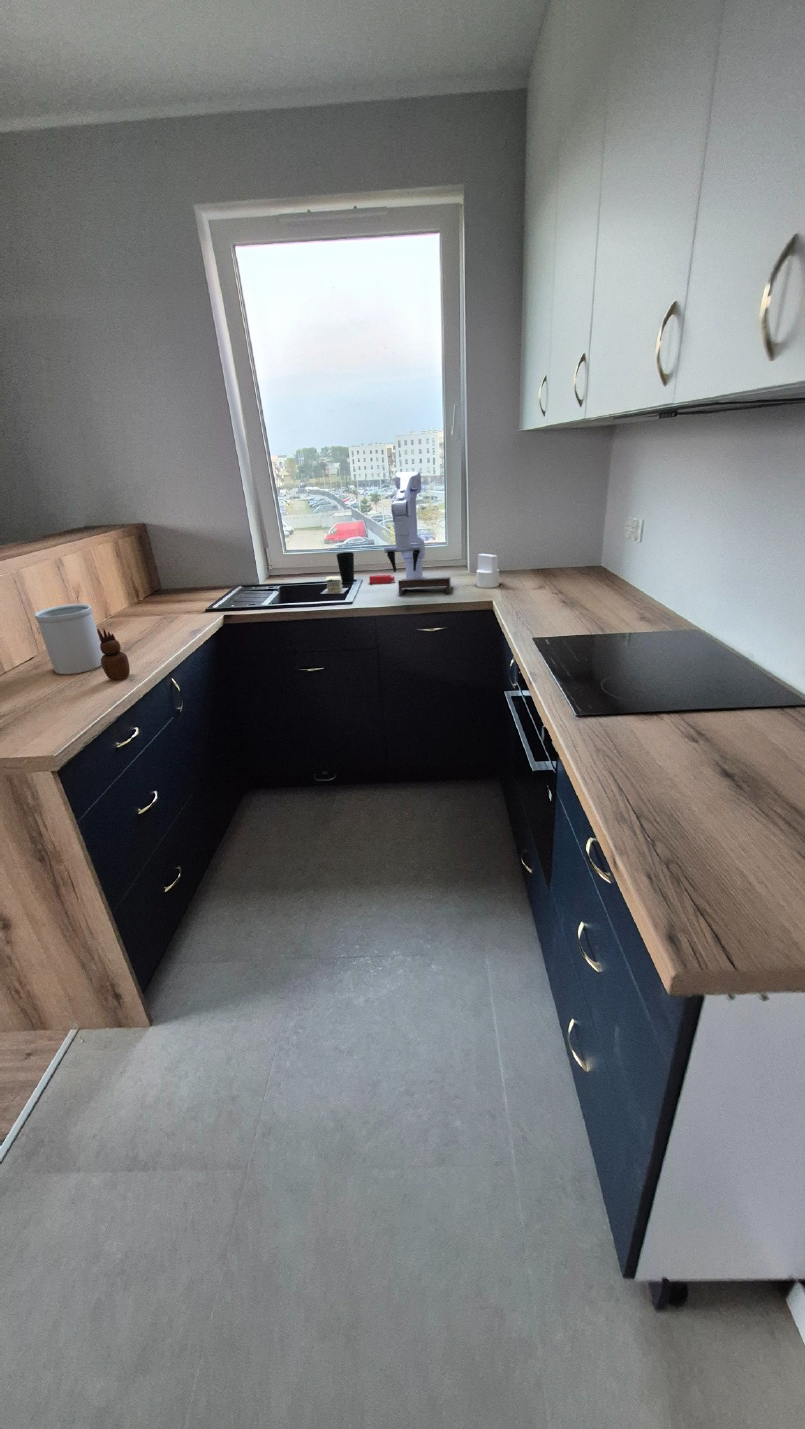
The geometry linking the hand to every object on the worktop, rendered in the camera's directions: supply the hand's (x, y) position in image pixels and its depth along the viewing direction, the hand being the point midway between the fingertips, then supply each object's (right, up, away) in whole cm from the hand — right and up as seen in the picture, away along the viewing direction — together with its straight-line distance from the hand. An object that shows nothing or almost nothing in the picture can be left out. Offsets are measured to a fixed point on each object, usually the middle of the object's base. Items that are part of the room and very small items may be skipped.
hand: (404, 571), depth 222 cm
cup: (-26, +5, +37) cm, 45 cm away
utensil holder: (-98, -41, -48) cm, 117 cm away
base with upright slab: (+34, -3, +12) cm, 36 cm away
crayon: (-10, +2, +29) cm, 31 cm away
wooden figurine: (-80, -46, -60) cm, 110 cm away
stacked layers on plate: (-30, -3, +21) cm, 36 cm away
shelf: (+8, -6, +10) cm, 14 cm away
